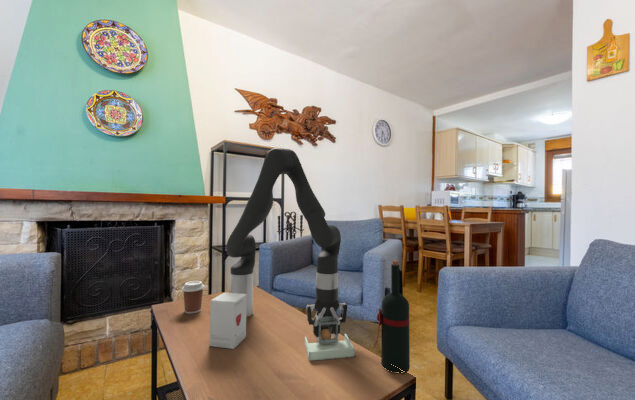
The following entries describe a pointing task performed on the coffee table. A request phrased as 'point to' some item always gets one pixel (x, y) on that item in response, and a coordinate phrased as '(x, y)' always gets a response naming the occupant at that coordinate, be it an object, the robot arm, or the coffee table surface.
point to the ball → (325, 334)
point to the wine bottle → (394, 327)
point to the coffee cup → (193, 296)
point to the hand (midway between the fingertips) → (326, 335)
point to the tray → (330, 350)
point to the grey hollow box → (331, 326)
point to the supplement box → (227, 320)
